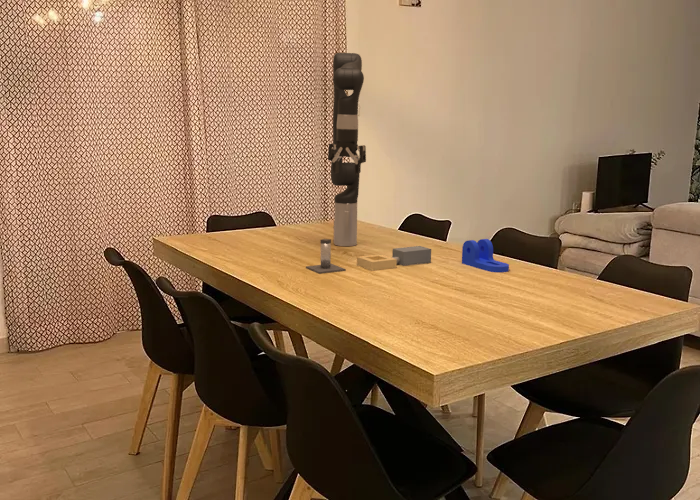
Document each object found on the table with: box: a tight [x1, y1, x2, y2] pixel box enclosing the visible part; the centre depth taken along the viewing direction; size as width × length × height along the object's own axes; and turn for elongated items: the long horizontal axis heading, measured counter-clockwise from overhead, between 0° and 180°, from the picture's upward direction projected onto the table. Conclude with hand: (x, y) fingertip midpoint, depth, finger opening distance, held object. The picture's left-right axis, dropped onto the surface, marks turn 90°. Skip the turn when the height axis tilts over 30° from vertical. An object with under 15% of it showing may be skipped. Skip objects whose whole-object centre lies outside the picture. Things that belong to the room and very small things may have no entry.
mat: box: [305, 263, 347, 275], centre depth 239 cm, size 10×10×1 cm
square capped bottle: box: [319, 238, 332, 269], centre depth 238 cm, size 3×3×10 cm
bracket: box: [461, 238, 510, 273], centre depth 245 cm, size 18×8×9 cm, turn 29°
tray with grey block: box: [356, 245, 432, 271], centre depth 248 cm, size 26×10×5 cm, turn 121°
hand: (346, 173), depth 250 cm, fingers open, 8 cm apart
